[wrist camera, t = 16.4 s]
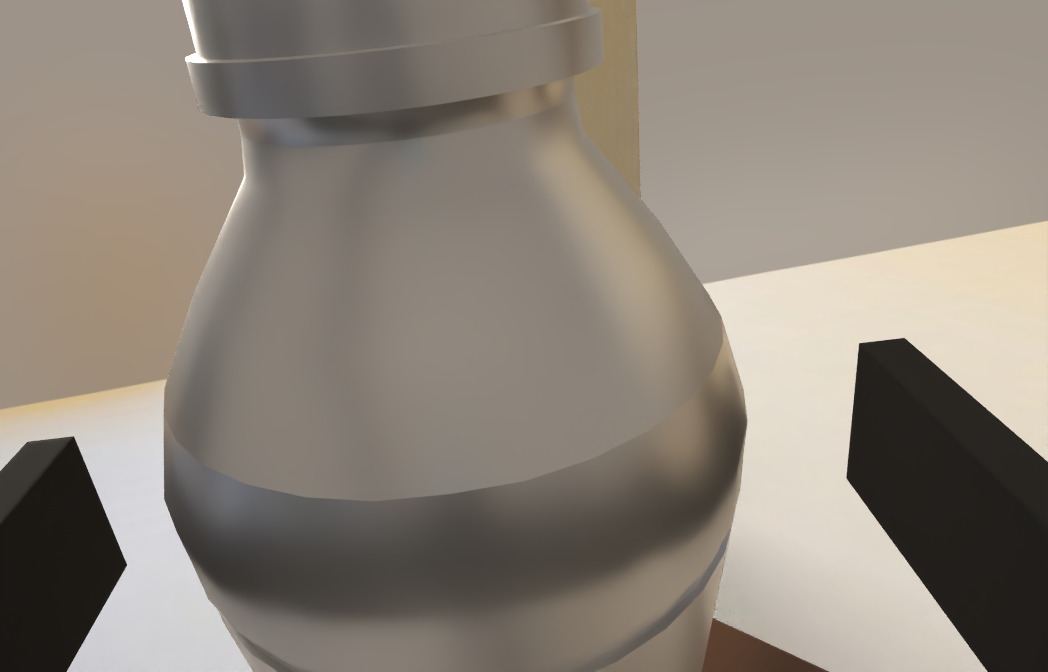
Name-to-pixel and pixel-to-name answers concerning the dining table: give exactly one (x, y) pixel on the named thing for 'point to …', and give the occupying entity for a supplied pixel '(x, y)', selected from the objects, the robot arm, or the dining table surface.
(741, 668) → the walnut board
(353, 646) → the silver metal bottle
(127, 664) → the dining table surface
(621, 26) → the toy refrigerator
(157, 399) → the dining table surface
